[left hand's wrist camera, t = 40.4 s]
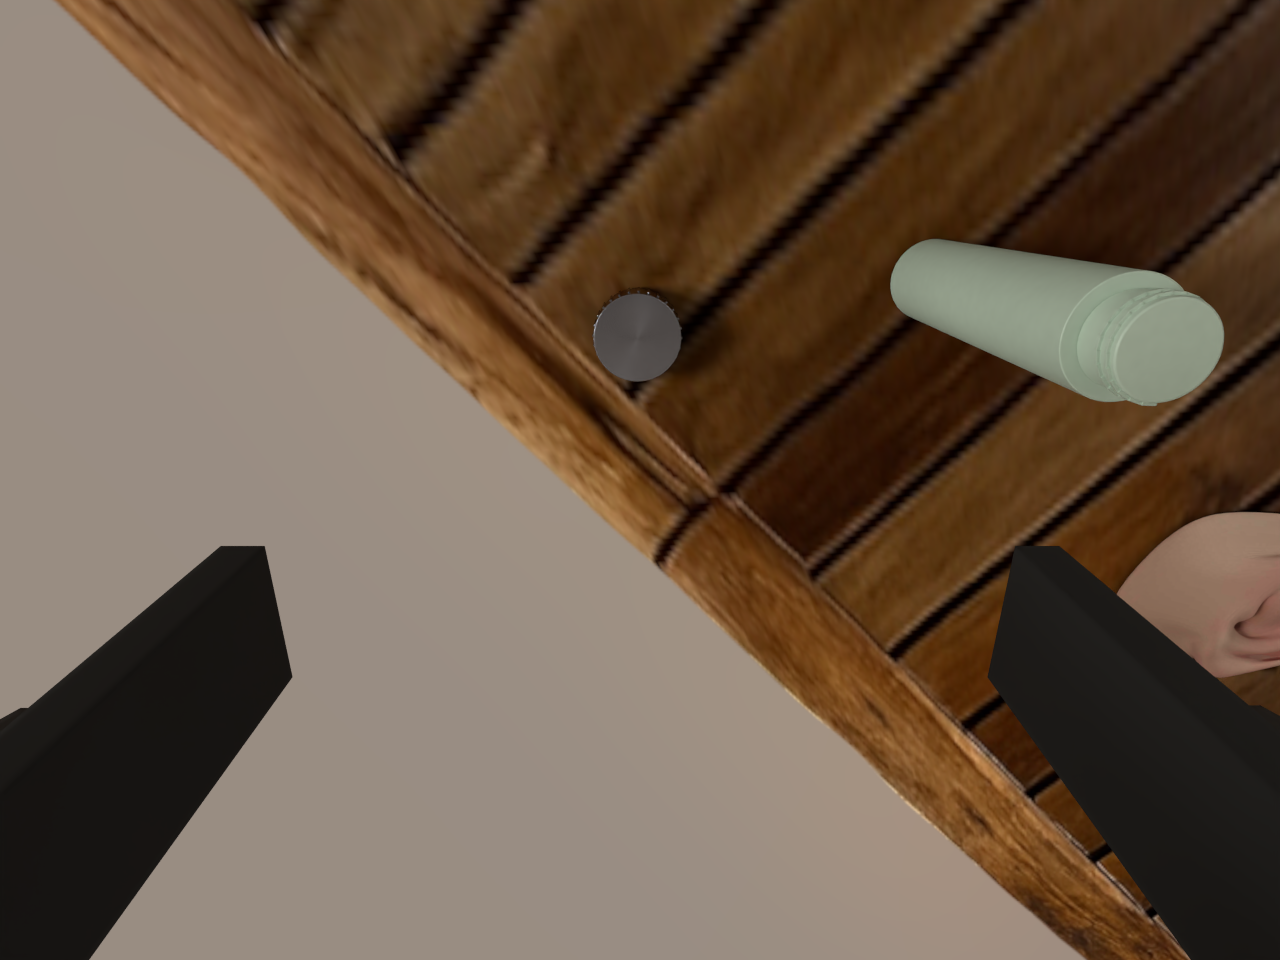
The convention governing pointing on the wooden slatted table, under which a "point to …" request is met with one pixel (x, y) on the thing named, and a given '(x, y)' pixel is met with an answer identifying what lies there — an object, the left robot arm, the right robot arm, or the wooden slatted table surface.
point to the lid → (637, 334)
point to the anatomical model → (1215, 591)
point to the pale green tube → (1065, 318)
